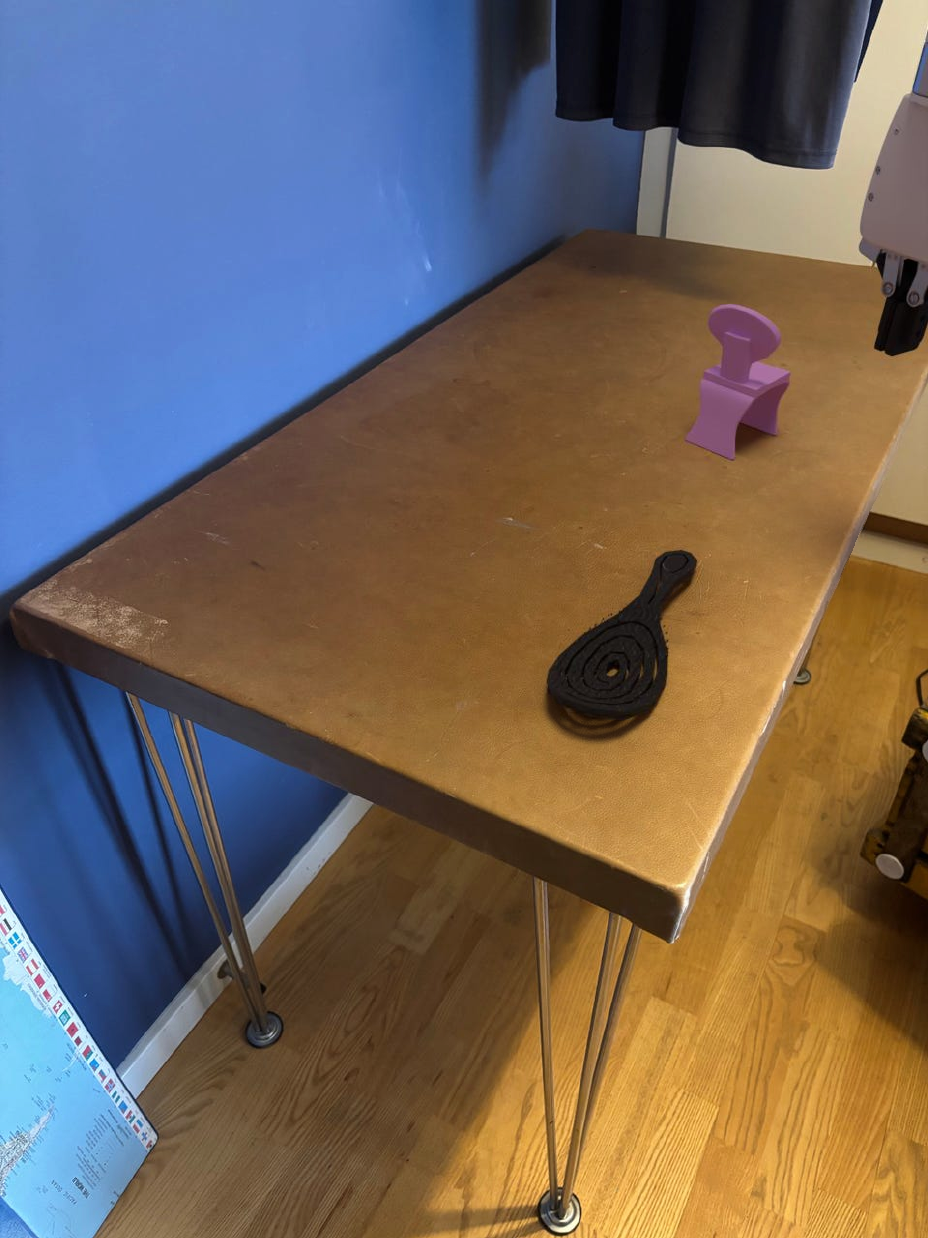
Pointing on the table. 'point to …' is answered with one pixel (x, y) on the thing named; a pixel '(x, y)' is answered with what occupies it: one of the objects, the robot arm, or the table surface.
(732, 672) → the table surface
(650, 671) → the hairbrush
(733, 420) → the chair
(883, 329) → the robot arm
